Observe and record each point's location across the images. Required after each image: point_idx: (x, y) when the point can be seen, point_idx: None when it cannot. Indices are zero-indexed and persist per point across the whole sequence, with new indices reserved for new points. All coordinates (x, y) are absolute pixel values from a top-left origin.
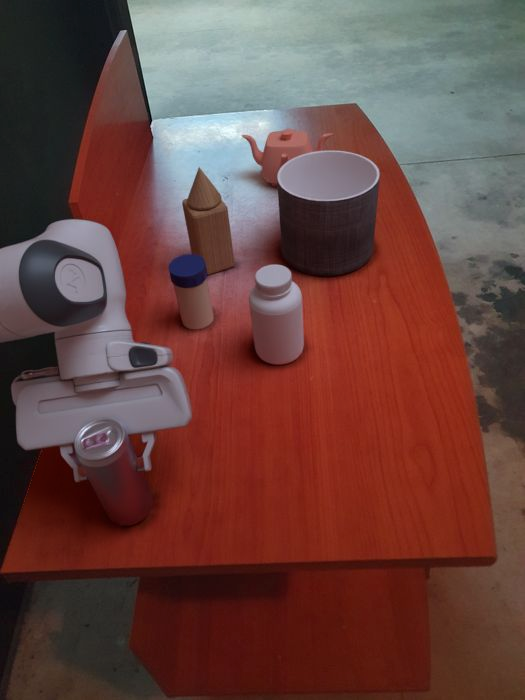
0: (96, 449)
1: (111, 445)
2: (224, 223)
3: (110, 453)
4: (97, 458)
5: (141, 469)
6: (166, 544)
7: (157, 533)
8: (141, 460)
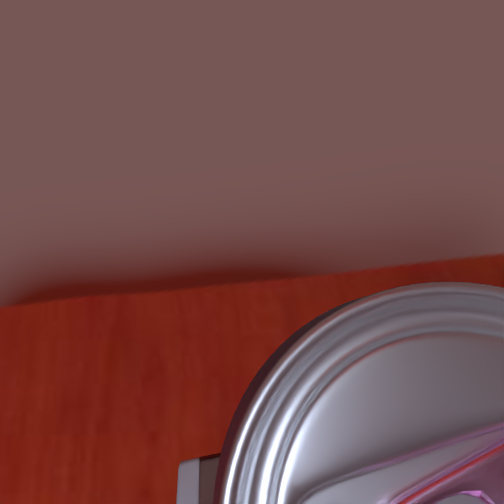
0: (456, 399)
1: (322, 453)
2: None
3: (298, 348)
4: (400, 293)
5: (215, 458)
6: (202, 330)
7: (231, 359)
8: (210, 501)
